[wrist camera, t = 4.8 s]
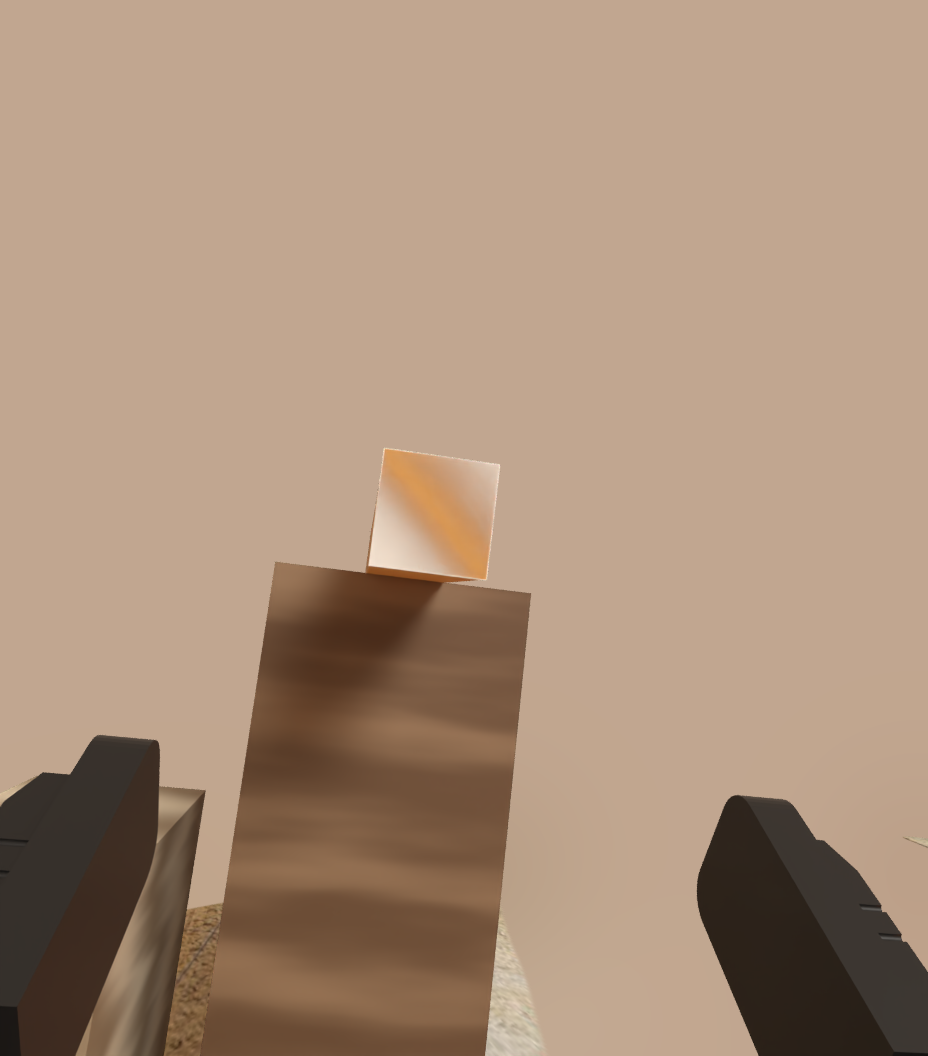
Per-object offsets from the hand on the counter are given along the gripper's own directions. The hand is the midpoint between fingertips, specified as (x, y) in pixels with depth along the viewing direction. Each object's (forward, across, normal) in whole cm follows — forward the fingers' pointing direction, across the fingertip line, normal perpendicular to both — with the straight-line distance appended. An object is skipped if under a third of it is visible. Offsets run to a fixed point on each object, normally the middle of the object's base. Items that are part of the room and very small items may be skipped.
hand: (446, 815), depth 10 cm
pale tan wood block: (+20, 0, +6) cm, 21 cm away
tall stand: (+9, 0, +37) cm, 38 cm away
